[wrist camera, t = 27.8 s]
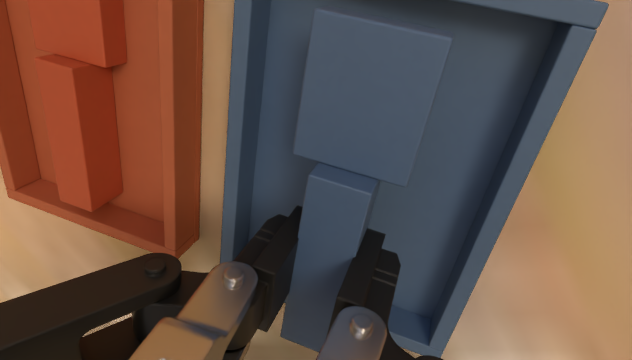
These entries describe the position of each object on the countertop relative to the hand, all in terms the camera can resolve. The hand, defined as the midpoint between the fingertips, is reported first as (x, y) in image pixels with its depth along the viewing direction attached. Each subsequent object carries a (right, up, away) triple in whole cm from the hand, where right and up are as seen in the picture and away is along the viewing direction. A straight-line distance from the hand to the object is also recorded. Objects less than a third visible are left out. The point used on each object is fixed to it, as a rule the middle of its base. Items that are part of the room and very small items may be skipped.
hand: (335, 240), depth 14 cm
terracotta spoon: (-10, +6, +4) cm, 12 cm away
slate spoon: (0, +2, -1) cm, 2 cm away
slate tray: (+1, +3, +1) cm, 3 cm away
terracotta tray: (-10, +6, +4) cm, 12 cm away
